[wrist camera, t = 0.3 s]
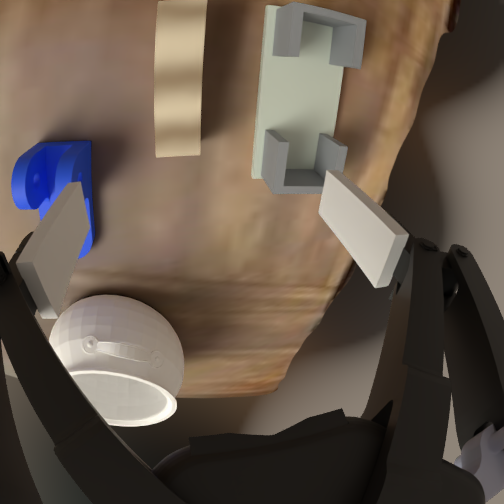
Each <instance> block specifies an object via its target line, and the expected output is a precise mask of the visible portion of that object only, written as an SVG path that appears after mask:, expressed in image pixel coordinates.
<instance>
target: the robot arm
mask: <svg viewBox="0 0 504 504" xmlns="http://www.w3.org/2000/svg"><path fill="white" fill-rule="evenodd" d="M318 213H319V214H320V216H321V217H322V218H323V219H324V221H325V222H326V223H327V224H328V226H329V227H330V228H331V230H332V231H333V232H334V233H335V235H336V236H337V237H338V239H339V240H340V241H341V242H342V244H343V245H344V246H345V248H346V249H347V250H348V252H349V253H350V254H351V256H352V257H353V258H354V260H355V261H356V262H357V264H358V265H359V267H360V268H361V269H362V271H363V272H364V273H365V275H366V276H367V278H368V279H369V280H370V282H371V283H372V285H373V286H374V287H375V288H378V287H384V286H388V285H389V283H390V281H391V278H392V276H393V275H394V277H395V278H396V279H397V282H396V285H395V287H394V289H393V291H392V293H391V295H390V297H389V300H391V299H392V304H391V309H390V314H389V320H388V325H387V330H386V334H385V339H384V343H383V347H382V352H381V356H380V360H379V364H378V368H377V371H376V375H375V379H374V383H373V386H372V389H371V393H370V396H369V400H368V403H367V406H366V408H365V411H364V413H363V414H362V416H361V418H358V417H345V414H344V412H343V410H342V408H341V409H338V410H335V411H331V412H328V413H324V414H320V415H317V416H313V417H309V418H307V419H305V420H303V421H301V422H299V423H297V424H295V425H294V426H291V427H290V428H287V429H285V430H283V431H281V432H279V433H277V434H275V435H269V436H268V435H266V436H265V435H247V434H234V433H225V434H219V435H209V436H199V437H189V442H190V446H187V447H184V448H182V449H179V450H177V451H175V452H173V453H172V454H170V455H168V456H167V457H166V458H164V459H163V460H162V461H160V462H159V463H158V464H157V465H156V466H155V467H154V468H153V470H152V469H151V468H150V467H149V466H148V465H146V464H145V463H144V462H143V461H142V460H141V459H140V458H139V457H138V456H137V455H136V454H135V453H134V452H133V451H132V450H131V449H130V448H129V447H128V446H127V445H126V443H125V442H124V441H123V440H122V439H121V438H120V437H119V436H118V435H117V434H116V433H115V431H114V430H113V429H112V428H111V427H110V426H109V424H108V423H107V422H106V421H105V420H104V419H103V417H102V416H101V415H100V414H99V412H98V411H97V410H96V409H95V408H94V406H93V405H92V404H91V402H90V401H89V400H88V399H87V397H86V396H85V395H84V393H83V392H82V391H81V389H80V388H79V386H78V385H77V384H76V382H75V381H74V379H73V378H72V377H71V375H70V374H69V372H68V371H67V369H66V368H65V366H64V365H63V363H62V362H61V360H60V359H59V357H58V356H57V354H56V352H55V351H54V349H53V348H52V346H51V344H50V343H49V341H48V339H47V338H46V336H45V334H44V332H43V331H42V329H41V327H40V325H39V324H38V322H37V320H36V318H35V316H34V315H35V312H36V310H37V309H38V311H39V313H40V315H41V317H42V318H43V319H53V318H58V317H59V314H60V310H61V307H62V304H63V300H64V297H65V294H66V291H67V288H68V285H69V282H70V279H71V276H72V273H73V270H74V268H75V265H76V262H77V259H78V257H79V254H80V251H81V249H82V246H83V244H84V241H85V239H86V236H87V234H88V232H89V229H90V224H89V220H88V215H87V211H86V206H85V201H84V196H83V191H82V186H81V181H79V182H72V183H68V184H67V185H66V186H65V188H64V189H63V190H62V192H61V193H60V194H59V196H58V197H57V199H56V200H55V201H54V203H53V204H52V206H51V207H50V208H49V210H48V211H47V213H46V214H45V216H44V217H43V219H42V220H41V222H40V223H39V225H38V226H37V228H36V230H35V231H34V232H30V233H29V234H28V235H27V236H26V237H25V238H24V239H23V240H22V242H21V244H20V245H19V248H17V250H16V252H15V254H14V255H13V257H12V259H11V260H10V262H9V264H8V262H7V259H6V257H5V255H4V253H3V252H1V251H0V504H43V503H42V501H41V498H40V495H39V493H38V491H37V488H36V486H35V484H34V481H33V478H32V476H31V473H30V471H29V468H28V465H27V462H26V459H25V456H24V453H23V450H22V447H21V444H20V441H19V437H18V434H17V430H16V426H15V422H14V418H13V414H12V410H11V405H10V401H9V395H8V390H7V385H6V379H5V372H4V365H3V357H2V348H1V339H2V341H3V344H4V347H5V349H6V352H7V354H8V356H9V359H10V361H11V364H12V366H13V368H14V370H15V373H16V375H17V377H18V379H19V381H20V383H21V385H22V387H23V389H24V391H25V393H26V395H27V397H28V399H29V401H30V403H31V405H32V406H33V408H34V410H35V412H36V414H37V415H38V417H39V419H40V420H41V422H42V424H43V425H44V427H45V429H46V431H47V432H48V434H49V435H50V437H51V439H52V440H53V442H54V444H55V447H54V451H55V454H56V455H57V457H58V459H59V460H60V462H61V463H62V465H63V466H64V468H65V469H66V470H67V472H68V473H69V474H70V476H71V477H72V478H73V480H74V481H75V482H76V484H77V485H78V486H79V487H80V489H81V490H82V491H83V492H84V494H85V495H86V496H87V497H88V498H89V500H90V501H91V502H92V503H93V504H485V503H486V502H487V501H488V500H490V499H491V498H492V497H494V496H495V495H496V494H498V493H499V492H500V491H501V490H502V489H504V320H503V317H502V315H501V313H500V310H499V308H498V305H497V303H496V301H495V299H494V297H493V295H492V292H491V290H490V288H489V286H488V284H487V282H486V280H485V278H484V276H483V274H482V272H481V270H480V268H479V266H478V264H477V262H476V261H475V259H474V257H473V255H472V254H471V253H470V251H468V250H467V248H465V247H464V246H460V245H457V244H453V245H451V247H450V250H449V252H448V253H446V252H440V251H439V248H438V247H437V246H436V245H435V244H434V243H433V242H431V241H429V240H427V239H424V238H415V237H414V236H413V235H412V234H411V233H410V232H409V231H408V230H407V229H406V228H405V227H403V226H402V224H401V223H399V222H398V221H397V220H396V219H395V218H394V217H393V216H392V215H391V214H389V213H388V212H386V211H384V210H383V209H382V208H381V207H380V206H379V205H378V204H377V203H376V202H375V201H373V200H372V199H371V198H370V197H369V196H368V195H367V194H366V193H364V192H363V191H362V190H361V189H360V188H359V187H358V186H356V185H355V184H354V183H353V182H352V181H351V180H349V179H348V178H347V177H346V176H345V175H343V174H342V173H341V172H340V171H339V170H326V176H325V181H324V187H323V192H322V197H321V202H320V207H319V212H318ZM457 289H458V291H457ZM456 291H457V294H456V293H455V292H456ZM444 352H445V357H446V362H447V367H448V373H449V378H446V377H443V357H444ZM451 392H452V399H453V407H454V415H455V424H456V432H457V437H458V441H459V446H460V449H461V455H460V456H459V457H457V458H456V460H455V463H454V464H452V463H449V462H448V461H446V460H444V459H442V458H443V453H444V447H445V441H446V434H447V428H448V420H449V411H450V401H451Z"/></svg>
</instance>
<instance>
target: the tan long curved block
mask: <svg viewBox="0 0 504 504" xmlns="http://www.w3.org/2000/svg"><path fill="white" fill-rule="evenodd" d="M206 10H207V0H170V1H158V9H157V23H156V40H155V69H154V118H155V148H156V157H171V156H189V155H200V132H201V95H202V71H203V52H204V36H205V22H206Z"/></svg>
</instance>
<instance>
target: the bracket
mask: <svg viewBox="0 0 504 504" xmlns="http://www.w3.org/2000/svg"><path fill="white" fill-rule="evenodd" d="M79 181H81V186H82V191H83V196H84V201H85V206H86V211H87V215H88V220H89V224H90V229H89V232H88V234H87V236H86V239H85V241H84V244H83V246H82V249H81V251H80V254H79V257H78V259H79V258H82V257H84V256H85V255H86V254H87V253H88V252H89V251H90V249H91V246H92V244H93V241H94V238H95V226H94V214H93V200H92V178H91V141H65V142H46V143H37V144H36V145H35V146H33V147H32V148H31V149H29V150H28V151H27V152H25V153H24V154H23V155H22V156H20V157H19V159H18V160H17V162H16V164H15V167H14V170H13V174H12V182H11V188H12V196H13V200H14V203H15V205H16V206H17V207H18V208H19V209H37V208H39V213H40V219H41V220H42V219H43V217H44V216H45V214H46V213H47V211H48V210H49V208H50V207H51V206H52V204H53V203H54V201H55V200H56V199H57V197H58V196H59V194H60V193H61V192H62V190H63V189H64V188H65V186H66V185H67V184H68V183H72V182H79Z"/></svg>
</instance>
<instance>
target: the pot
mask: <svg viewBox="0 0 504 504" xmlns="http://www.w3.org/2000/svg"><path fill="white" fill-rule="evenodd" d="M49 343H50V344H51V346H52V348H53V349H54V351H55V352H56V354H57V356H58V357H59V359H60V360H61V362H62V363H63V365H64V366H65V368H66V369H67V371H68V372H69V374H70V375H71V377H72V378H73V379H74V381H75V382H76V384H77V385H78V386H79V388H80V389H81V391H82V392H83V393H84V395H85V396H86V397H87V399H88V400H89V401H90V402H91V404H92V405H93V406H94V408H95V409H96V410H97V411H98V412H99V414H100V415H101V416H102V417H103V419H104V420H105V421H106V422H107V423H108V424H109V425H115V426H143V425H149V424H154V423H157V422H160V421H163V420H165V419H167V418H169V417H170V416H171V415H172V414H174V412H175V410H176V408H177V402H176V399H175V397H176V395H177V393H178V391H179V390H180V387H181V385H182V381H183V376H184V355H183V350H182V346H181V343H180V341H179V338H178V336H177V334H176V332H175V331H174V329H173V328H172V326H171V325H170V323H169V322H168V321H167V320H166V319H165V318H164V317H163V316H162V315H161V314H160V313H158V312H157V311H155V310H154V309H153V308H151V307H150V306H148V305H146V304H144V303H142V302H140V301H137V300H135V299H132V298H129V297H124V296H119V295H96V296H92V297H88V298H84V299H81V300H79V301H77V302H75V303H73V304H72V305H71V306H70V307H68V308H67V309H66V310H65V311H64V312H63V313H62V314H61V315H60V317H59V318H58V320H57V321H56V323H55V325H54V327H53V328H52V331H51V335H50V338H49Z"/></svg>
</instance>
